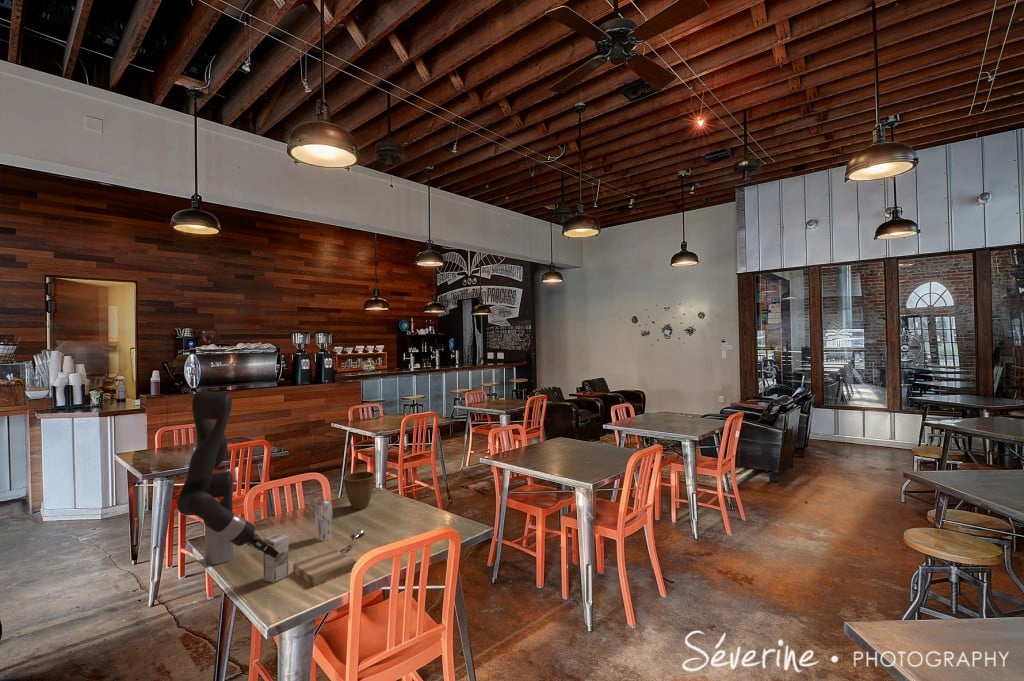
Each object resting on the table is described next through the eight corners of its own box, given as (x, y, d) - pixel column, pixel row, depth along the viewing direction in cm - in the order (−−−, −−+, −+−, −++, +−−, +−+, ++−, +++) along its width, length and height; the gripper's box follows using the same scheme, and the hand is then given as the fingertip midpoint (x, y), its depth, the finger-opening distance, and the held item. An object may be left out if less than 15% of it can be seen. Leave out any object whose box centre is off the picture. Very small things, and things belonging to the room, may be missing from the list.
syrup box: (277, 573, 174) (277, 532, 174) (288, 576, 172) (288, 535, 172) (263, 580, 169) (262, 538, 169) (274, 583, 166) (274, 541, 166)
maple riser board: (293, 571, 175) (293, 563, 175) (334, 556, 187) (334, 548, 187) (314, 586, 164) (314, 577, 164) (356, 569, 176) (356, 561, 176)
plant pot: (355, 501, 251) (354, 470, 251) (380, 503, 247) (380, 472, 247) (337, 511, 236) (337, 478, 236) (364, 513, 232) (363, 480, 232)
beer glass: (327, 542, 201) (326, 506, 200) (311, 541, 202) (311, 505, 202) (335, 535, 207) (335, 500, 207) (321, 534, 209) (320, 499, 209)
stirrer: (350, 543, 190) (338, 543, 190) (350, 552, 190) (338, 552, 190) (367, 526, 210) (356, 526, 210) (367, 535, 210) (356, 535, 210)
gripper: (252, 524, 158) (288, 547, 166) (236, 514, 167) (271, 536, 176) (234, 545, 154) (272, 568, 162) (219, 534, 163) (255, 556, 172)
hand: (271, 551), depth 169 cm, fingers open, 8 cm apart
